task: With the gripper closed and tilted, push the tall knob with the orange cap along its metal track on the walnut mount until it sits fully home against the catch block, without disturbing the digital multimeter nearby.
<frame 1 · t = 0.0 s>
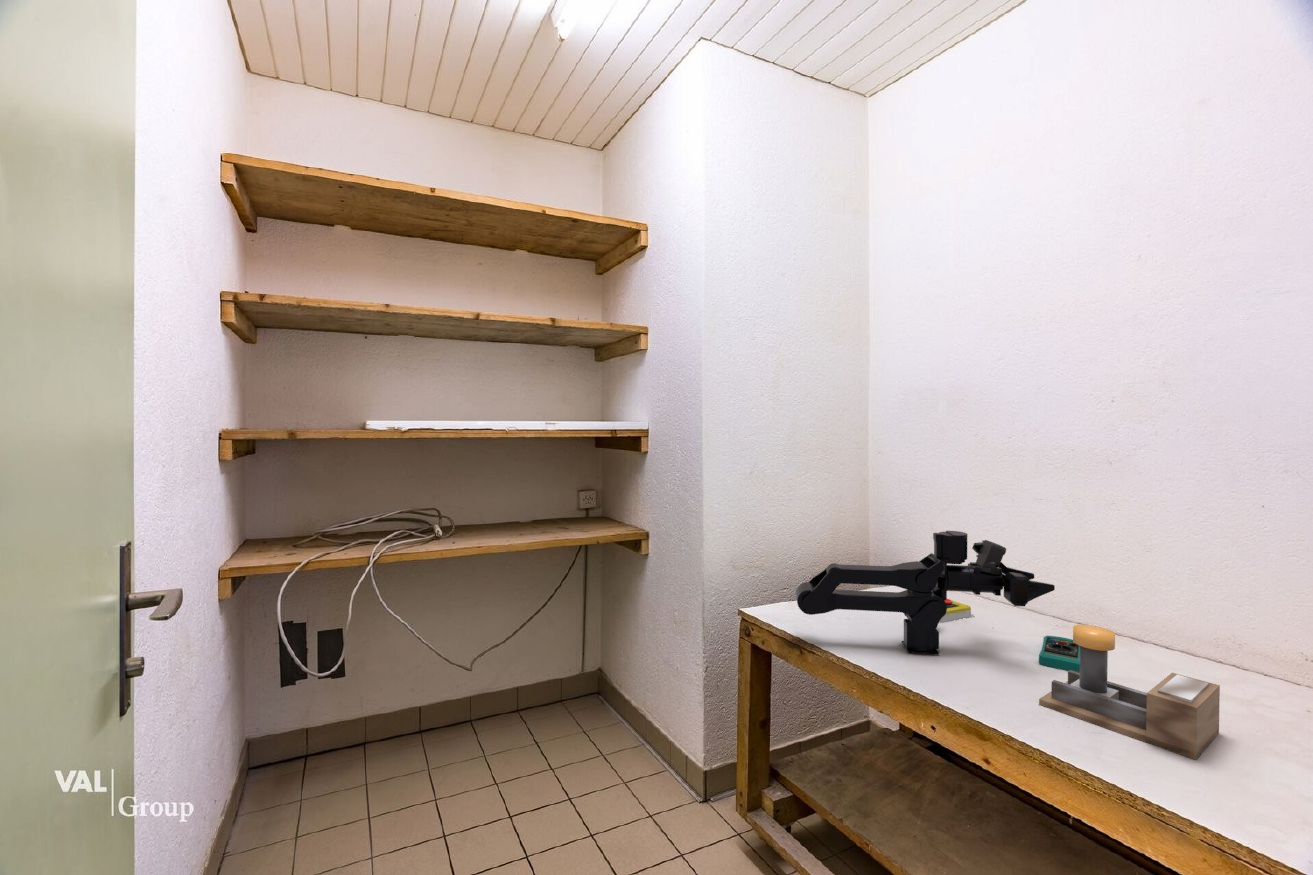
hand: (1043, 581, 126), 17 cm above the workbench, tool horizontal, fingers open, 9 cm apart
knob mount: (1092, 707, 104), on the workbench
lightbulb: (930, 629, 144), on the workbench
emergency button: (941, 617, 154), on the workbench
knob carriage: (1093, 665, 104), point 8 cm above the workbench, slide at 0.0 cm
digital multimeter: (1061, 660, 126), on the workbench
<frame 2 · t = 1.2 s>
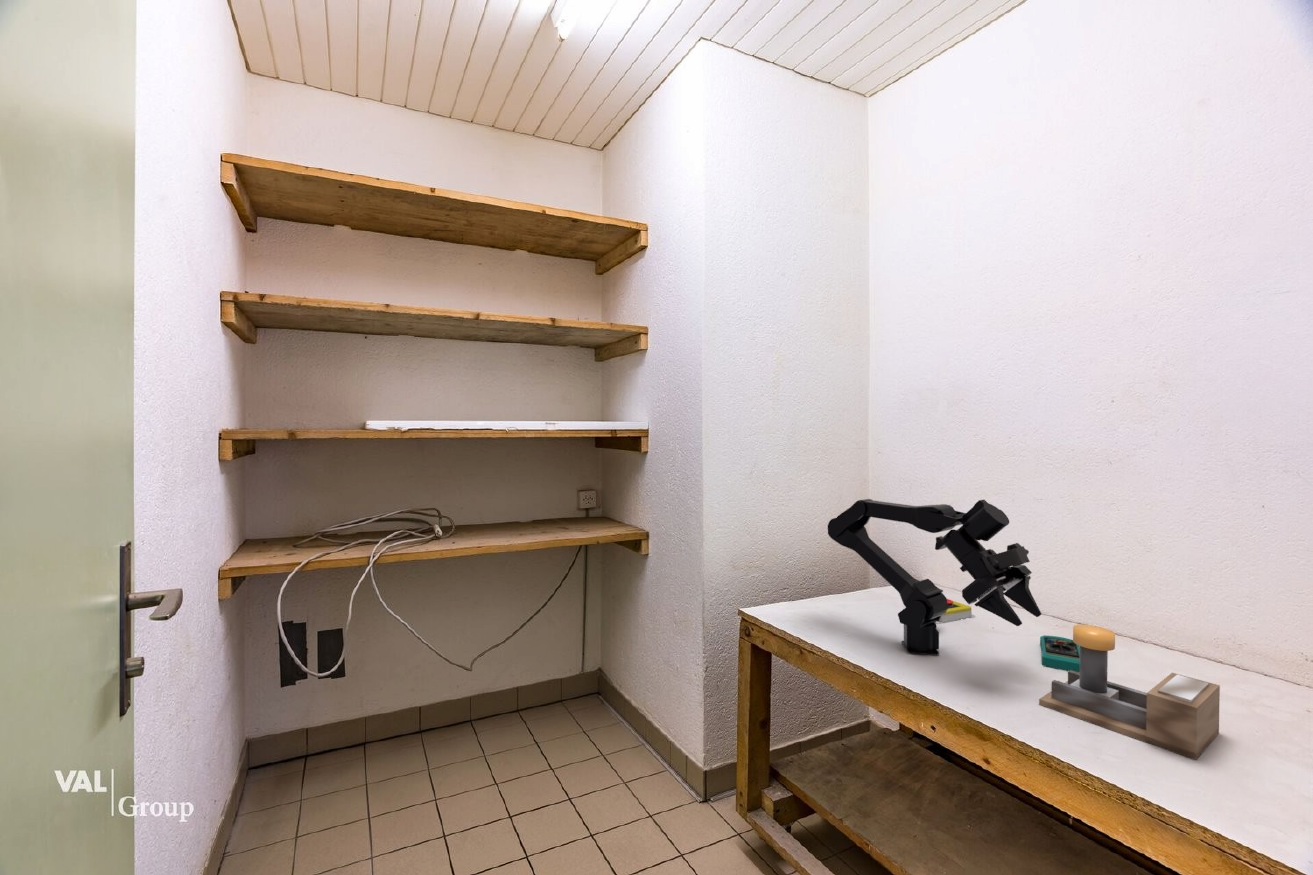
hand: (1030, 620, 113), 13 cm above the workbench, tool tilted 45°, fingers open, 8 cm apart
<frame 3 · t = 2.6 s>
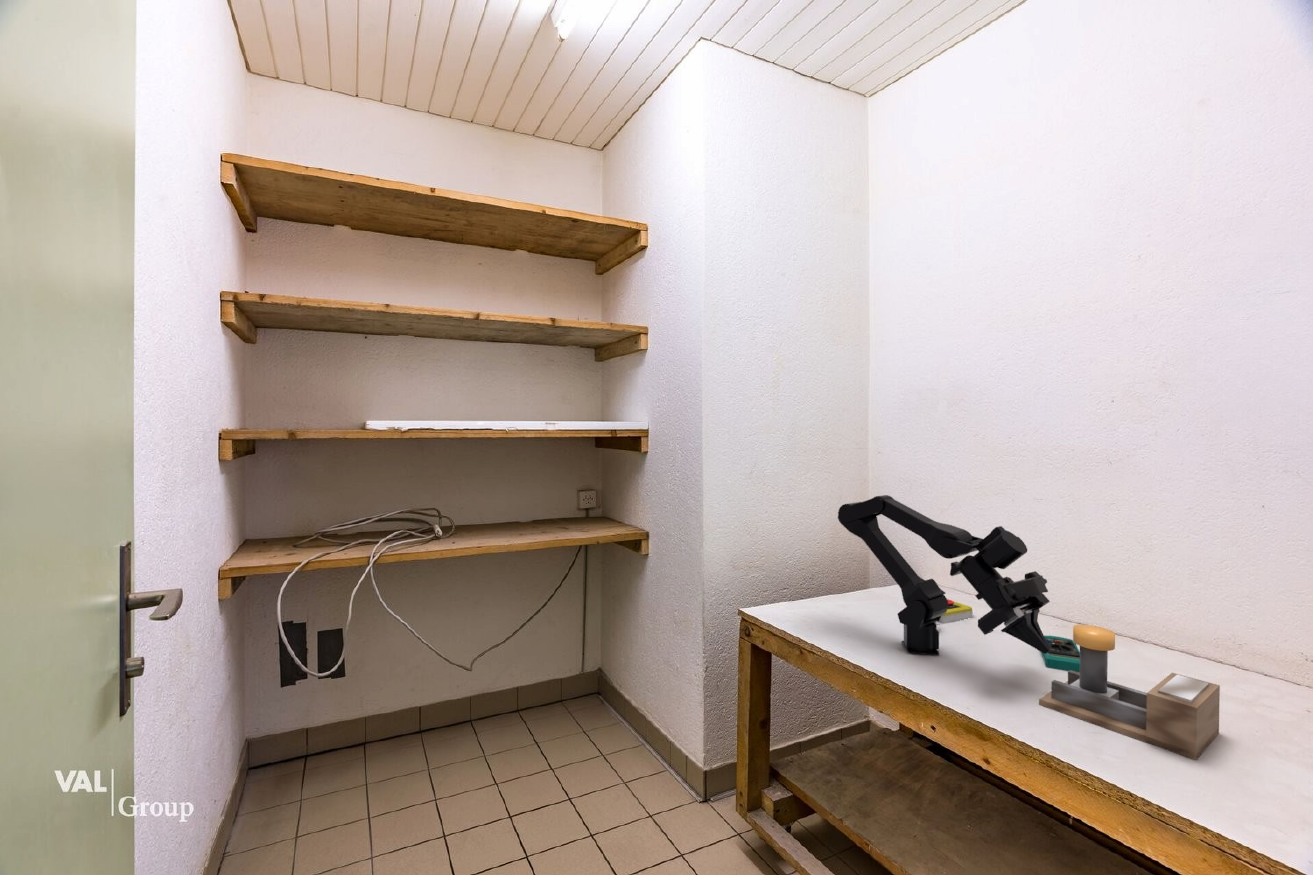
hand: (1048, 652, 110), 8 cm above the workbench, tool tilted 45°, fingers closed
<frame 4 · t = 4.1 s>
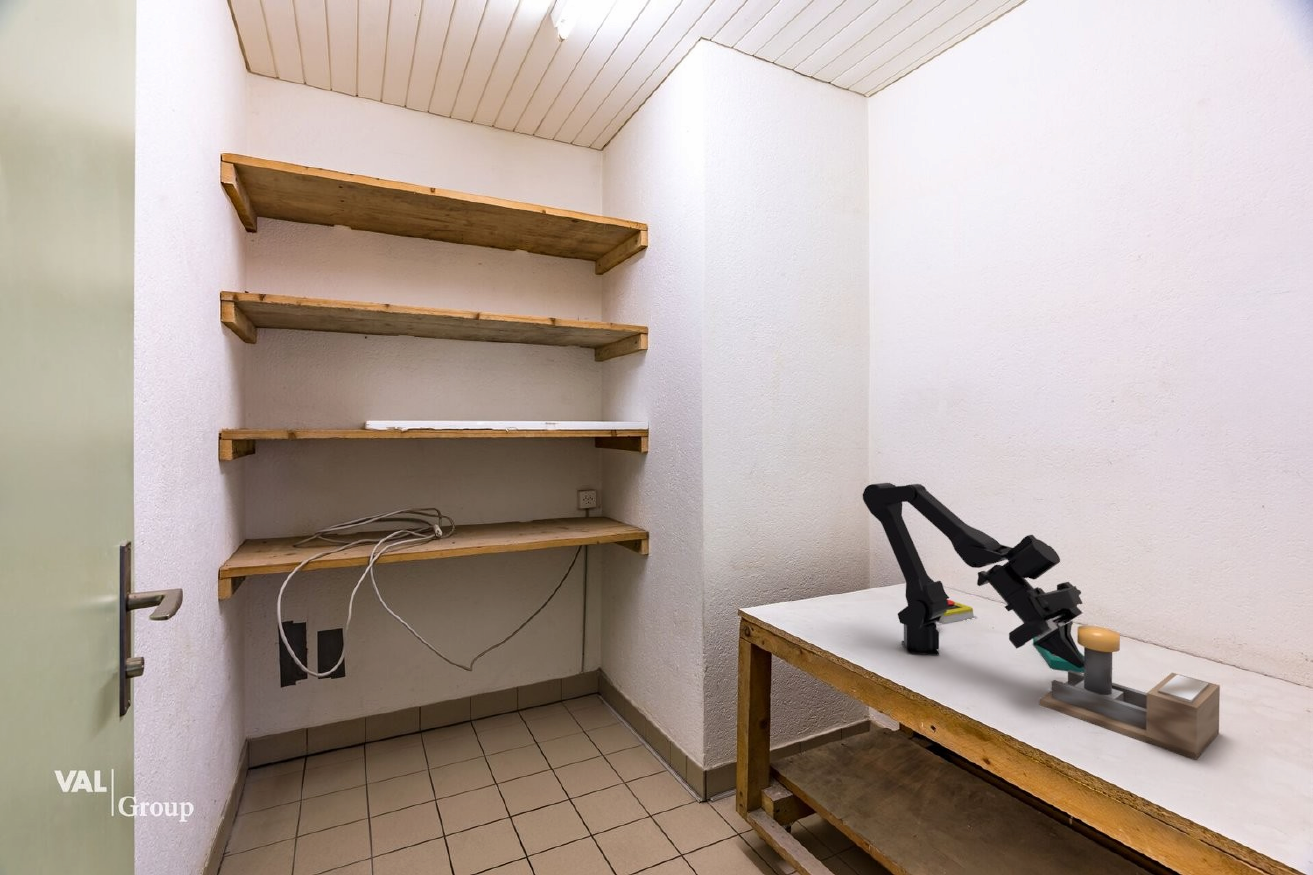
hand: (1082, 666, 105), 7 cm above the workbench, tool tilted 45°, fingers closed, pressing on knob carriage
knob carriage: (1097, 667, 103), point 8 cm above the workbench, slide at 0.7 cm, touching gripper
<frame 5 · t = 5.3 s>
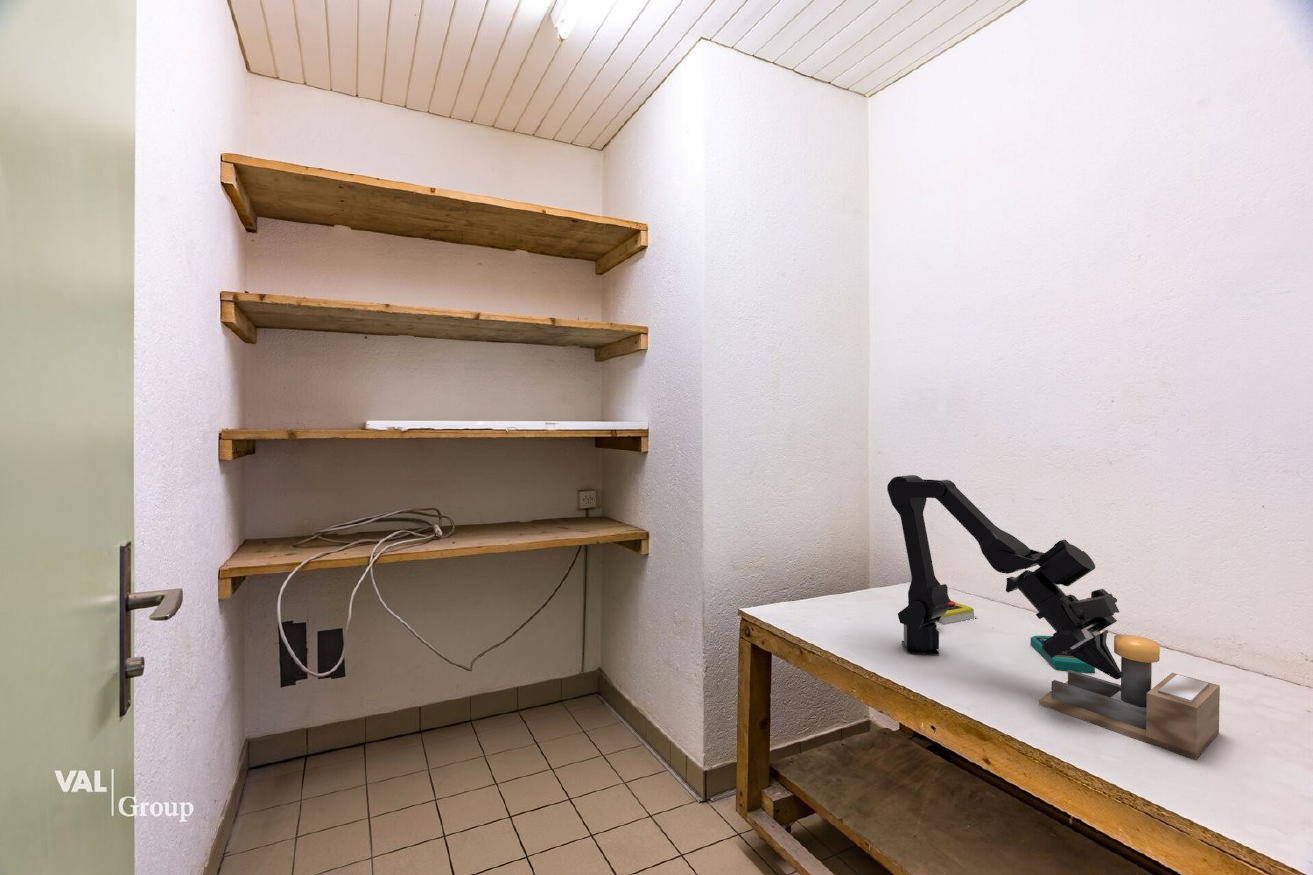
hand: (1119, 677, 101), 7 cm above the workbench, tool tilted 45°, fingers closed, pressing on knob carriage
knob carriage: (1136, 678, 99), point 8 cm above the workbench, slide at 6.1 cm, touching gripper
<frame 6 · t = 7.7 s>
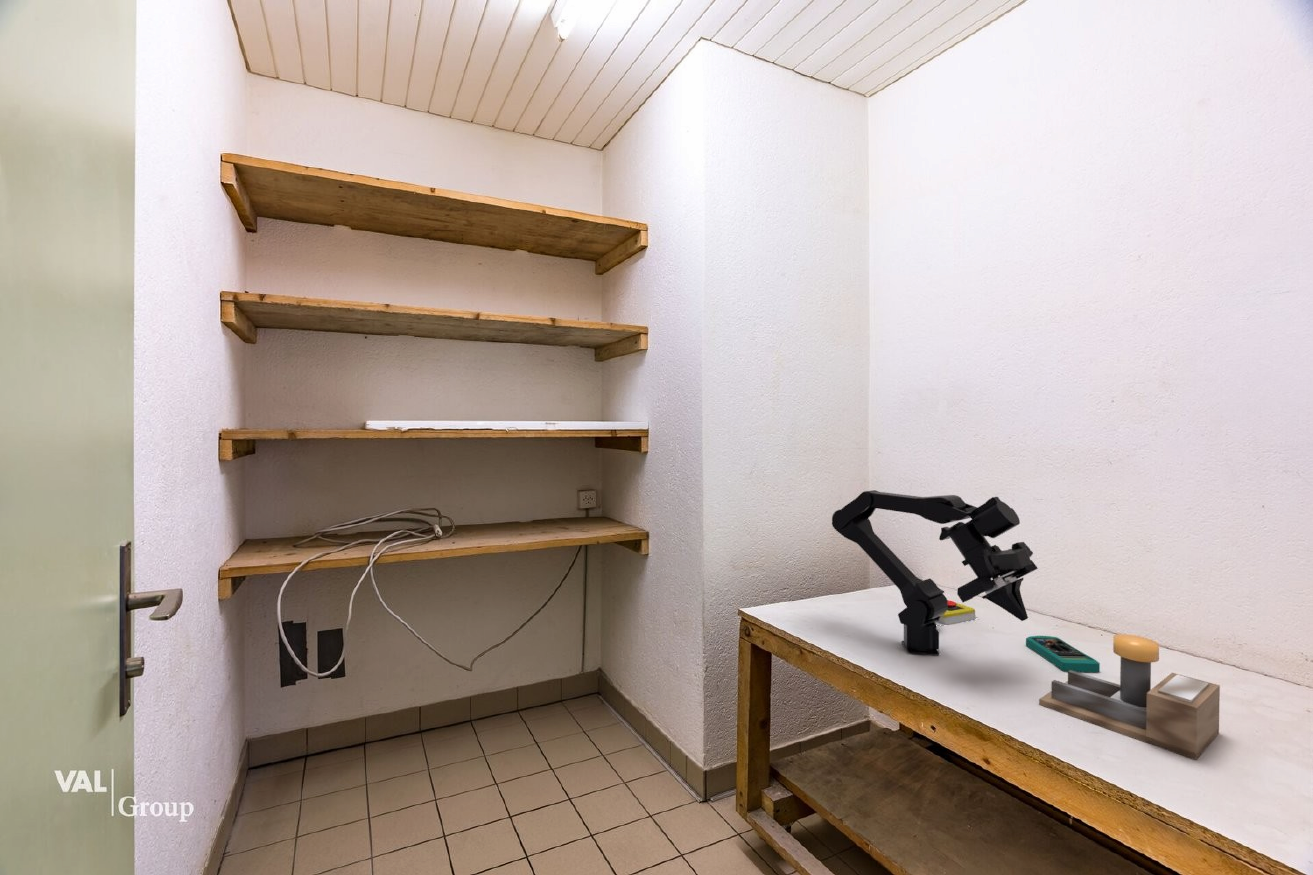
hand: (1025, 619, 114), 13 cm above the workbench, tool tilted 35°, fingers closed
knob carriage: (1135, 677, 99), point 8 cm above the workbench, slide at 6.0 cm
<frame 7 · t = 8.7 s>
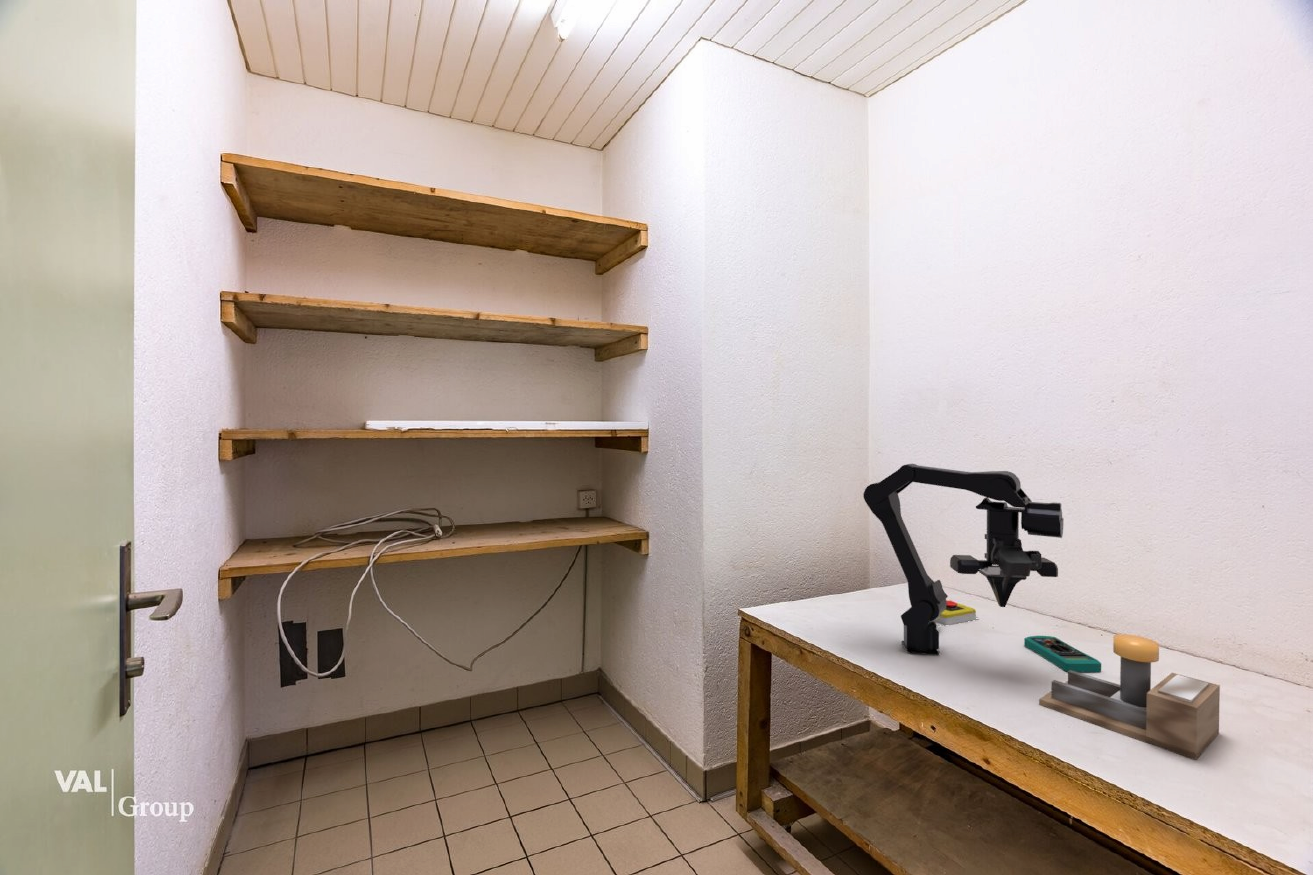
hand: (1002, 606, 120), 13 cm above the workbench, tool pointing down, fingers closed
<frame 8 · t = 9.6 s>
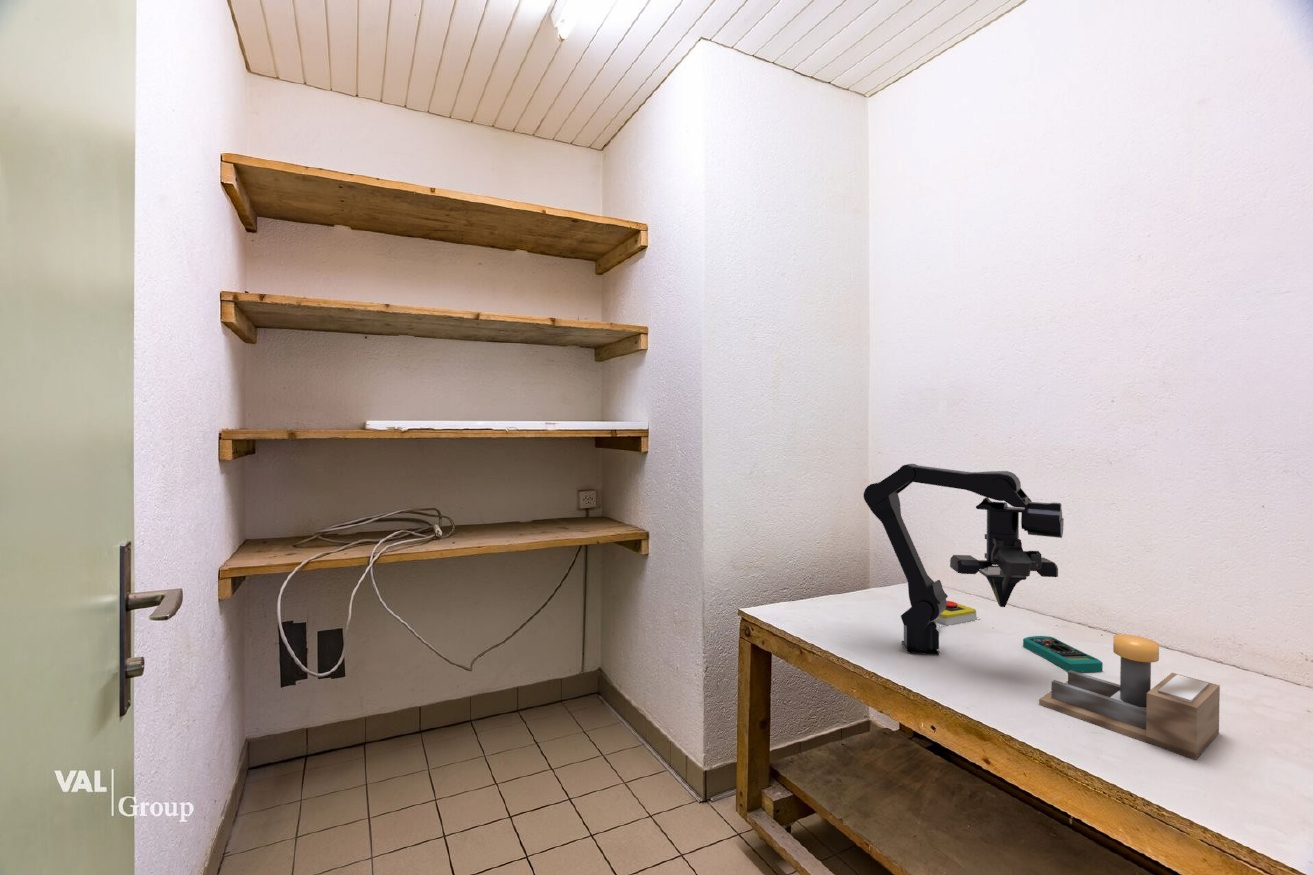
hand: (1002, 606, 120), 13 cm above the workbench, tool pointing down, fingers closed
at the end: knob carriage slide at 6.0 cm; digital multimeter moved 0.9 cm from its start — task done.
